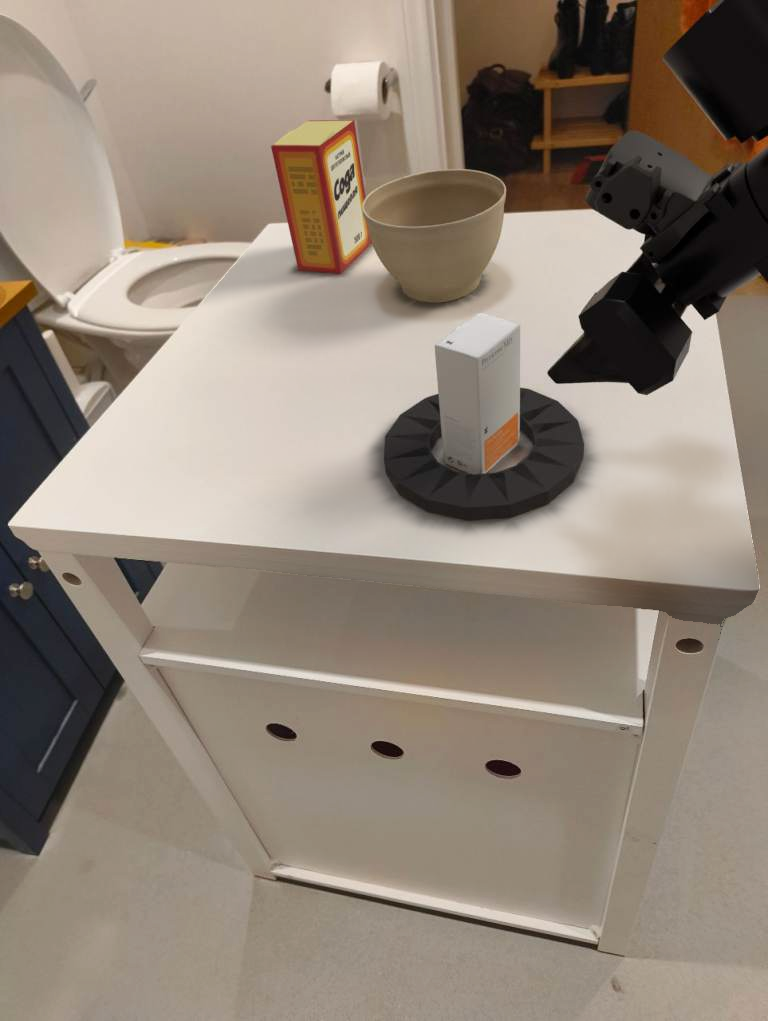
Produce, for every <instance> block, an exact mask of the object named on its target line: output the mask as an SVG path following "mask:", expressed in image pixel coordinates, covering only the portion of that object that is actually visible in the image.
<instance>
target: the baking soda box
mask: <svg viewBox="0 0 768 1021" xmlns="http://www.w3.org/2000/svg"><path fill="white" fill-rule="evenodd" d="M270 149H271V153H272V158H273V161H274V167H275V171H276V176H277V180H278V184H279V189H280V194H281V199H282V203H283V206H284V212H285V216H286V221H287V226H288V230H289V234H290V239H291V243H292V249H293V253H294V257H295V261H296V268H297V270H298V271H302V272H317V273H327V274H337V275H338V274H340V275H341V274H343V273H344V272H345V271H346V269H348V267H350V265H352V263H354V262H355V261H356V259H357V258H358V257H360V256H361V255H362V254H363V252H364V251H365V250H366V249H368V247H370V245H371V244H372V242H371V239H370V236H369V232H368V227H367V223H366V221H365V218H364V216H363V211H362V204H363V201H364V199H365V198H366V197H367V196H366V192H365V185H364V177H363V171H362V170H363V169H362V164H361V157H360V149H359V143H358V136H357V129H356V122H355V119H317V120H316V119H315V120H314V119H309V120H307V121H305V122H304V123H303V124H301V125H300V126H299V127H297V128H296V129H291V130H290V131H288V132H287V133H286V134H285V135H283V136H282V137H281V138H279V139H278V140H277V141H276V142H274V143H273V144H271V146H270Z"/></svg>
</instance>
